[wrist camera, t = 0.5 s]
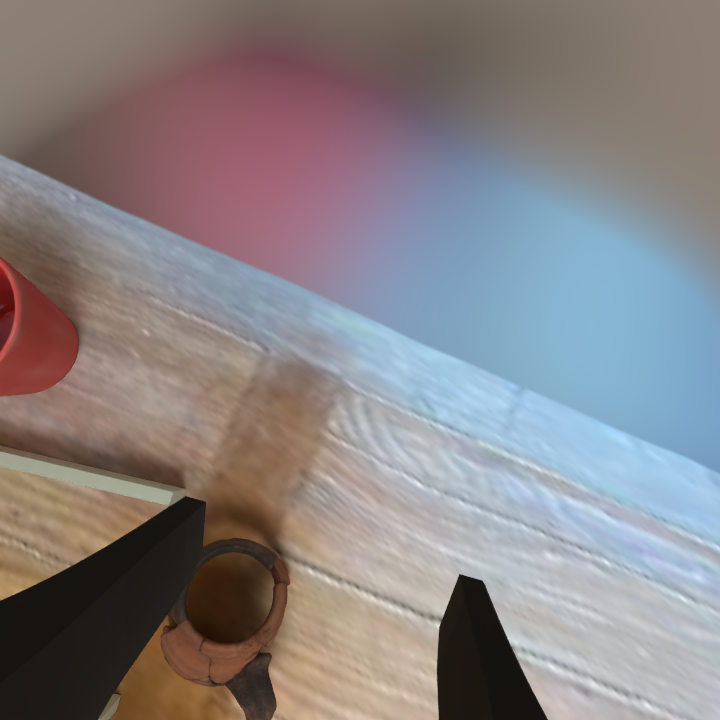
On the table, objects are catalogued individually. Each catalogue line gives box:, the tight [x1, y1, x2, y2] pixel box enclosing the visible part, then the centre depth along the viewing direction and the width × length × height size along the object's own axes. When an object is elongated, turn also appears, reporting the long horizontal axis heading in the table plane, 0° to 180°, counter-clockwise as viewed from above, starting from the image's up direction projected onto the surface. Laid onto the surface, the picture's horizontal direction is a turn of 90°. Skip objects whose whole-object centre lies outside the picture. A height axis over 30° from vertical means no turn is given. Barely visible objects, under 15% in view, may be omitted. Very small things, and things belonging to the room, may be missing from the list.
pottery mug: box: [161, 538, 290, 720], centre depth 31 cm, size 12×10×8 cm
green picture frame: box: [0, 445, 186, 720], centre depth 32 cm, size 16×17×3 cm
